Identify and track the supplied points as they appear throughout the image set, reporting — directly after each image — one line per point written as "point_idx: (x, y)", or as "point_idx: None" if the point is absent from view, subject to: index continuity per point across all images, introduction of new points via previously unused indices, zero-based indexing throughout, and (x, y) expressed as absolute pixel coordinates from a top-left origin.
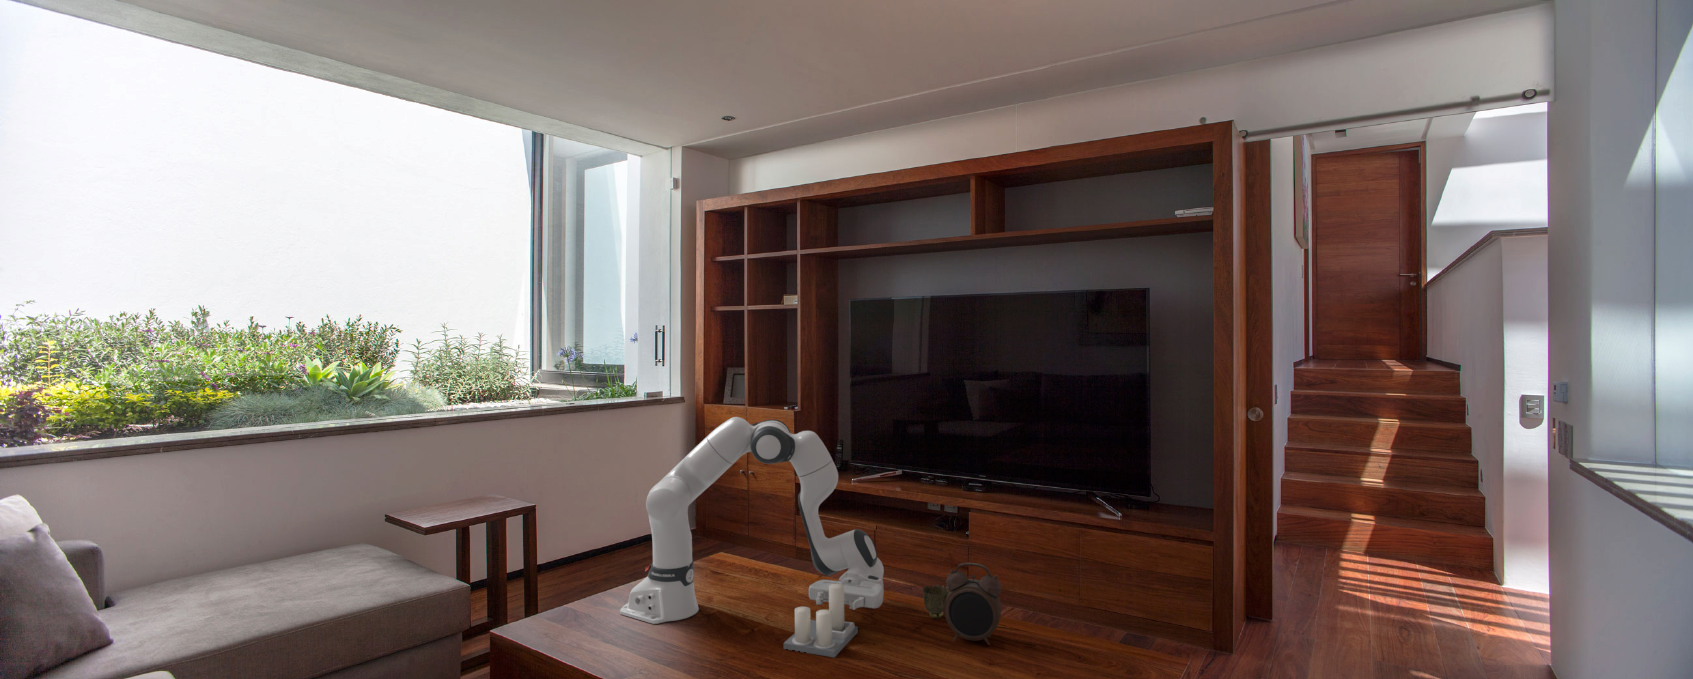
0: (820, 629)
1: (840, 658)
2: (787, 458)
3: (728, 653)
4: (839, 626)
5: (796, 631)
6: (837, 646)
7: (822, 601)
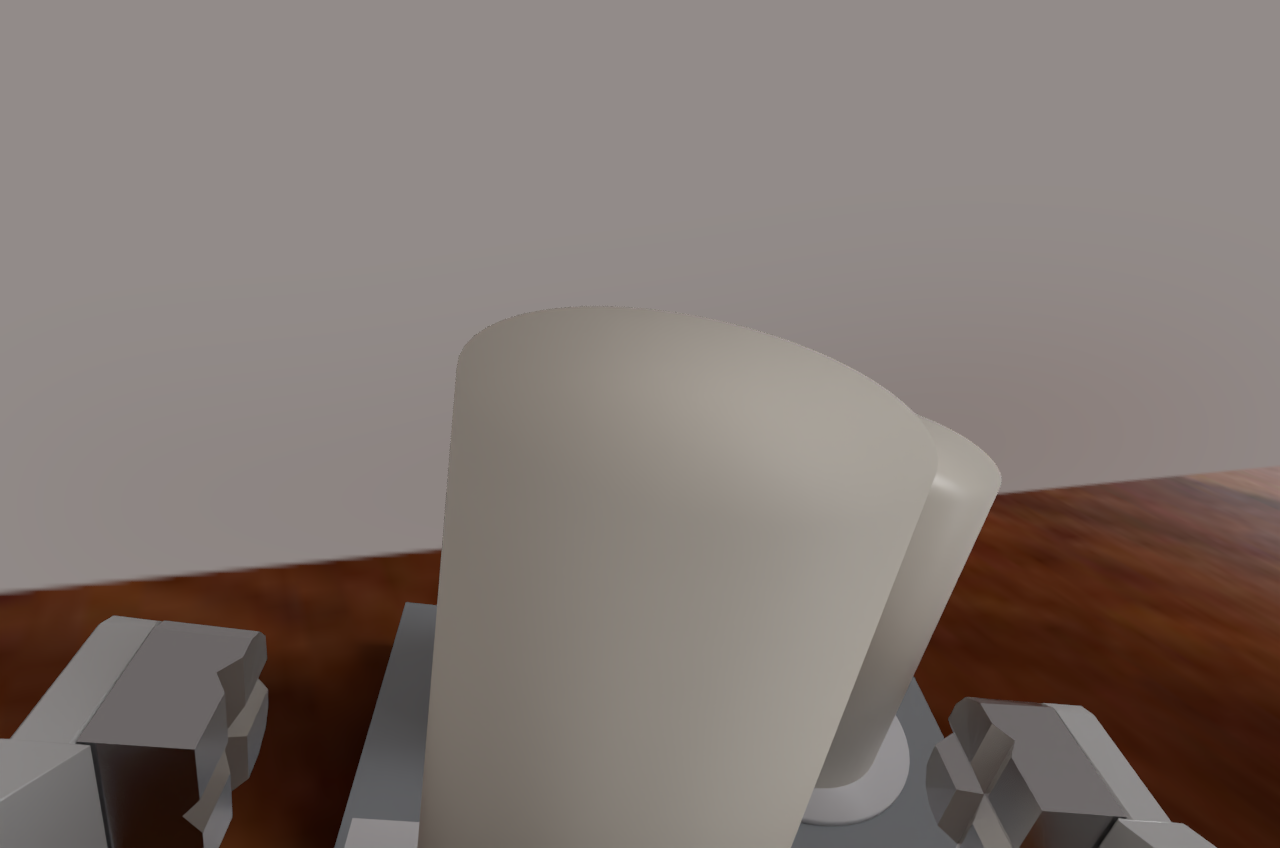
0: None
1: (343, 646)
2: None
3: (1111, 586)
4: None
5: None
6: (398, 682)
7: (974, 816)
